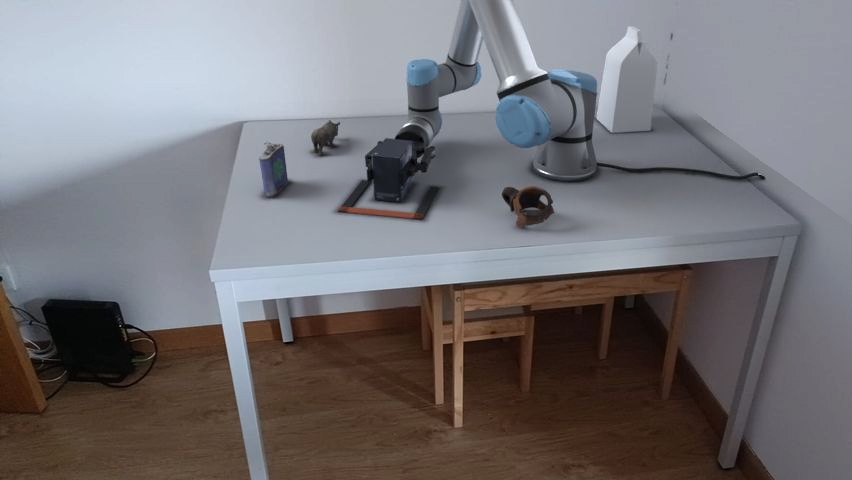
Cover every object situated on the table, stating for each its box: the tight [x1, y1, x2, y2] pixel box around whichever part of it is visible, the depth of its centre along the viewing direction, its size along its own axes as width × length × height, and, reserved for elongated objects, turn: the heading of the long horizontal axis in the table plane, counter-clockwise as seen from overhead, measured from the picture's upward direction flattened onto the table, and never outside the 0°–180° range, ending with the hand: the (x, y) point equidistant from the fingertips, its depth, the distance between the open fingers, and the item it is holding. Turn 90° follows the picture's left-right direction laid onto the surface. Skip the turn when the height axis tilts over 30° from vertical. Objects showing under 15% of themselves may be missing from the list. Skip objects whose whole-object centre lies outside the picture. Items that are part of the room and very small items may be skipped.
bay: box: [337, 179, 440, 221], centre depth 150 cm, size 18×16×1 cm
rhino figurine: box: [310, 119, 341, 156], centre depth 174 cm, size 4×14×6 cm, turn 167°
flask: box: [258, 141, 289, 198], centre depth 150 cm, size 9×3×11 cm, turn 172°
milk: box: [596, 25, 658, 134], centre depth 189 cm, size 12×12×26 cm
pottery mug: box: [501, 185, 555, 229], centre depth 143 cm, size 12×10×8 cm
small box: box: [372, 137, 414, 203], centre depth 151 cm, size 11×6×10 cm, turn 172°
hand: (385, 177), depth 145 cm, fingers closed on small box, 6 cm apart
